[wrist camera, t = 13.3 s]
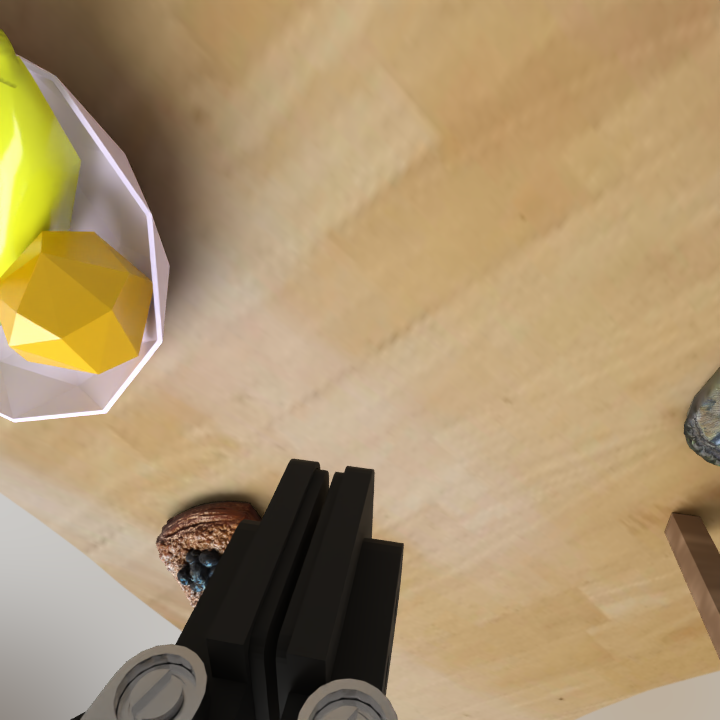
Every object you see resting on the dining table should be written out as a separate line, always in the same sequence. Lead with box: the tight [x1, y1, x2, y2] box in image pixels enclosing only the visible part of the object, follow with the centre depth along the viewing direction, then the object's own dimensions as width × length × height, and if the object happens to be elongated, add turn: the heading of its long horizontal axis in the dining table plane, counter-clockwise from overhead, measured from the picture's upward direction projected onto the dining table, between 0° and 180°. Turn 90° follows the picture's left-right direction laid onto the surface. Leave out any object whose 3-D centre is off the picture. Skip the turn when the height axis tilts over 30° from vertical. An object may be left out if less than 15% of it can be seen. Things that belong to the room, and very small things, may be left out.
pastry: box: [156, 501, 262, 608], centre depth 50 cm, size 11×12×6 cm
